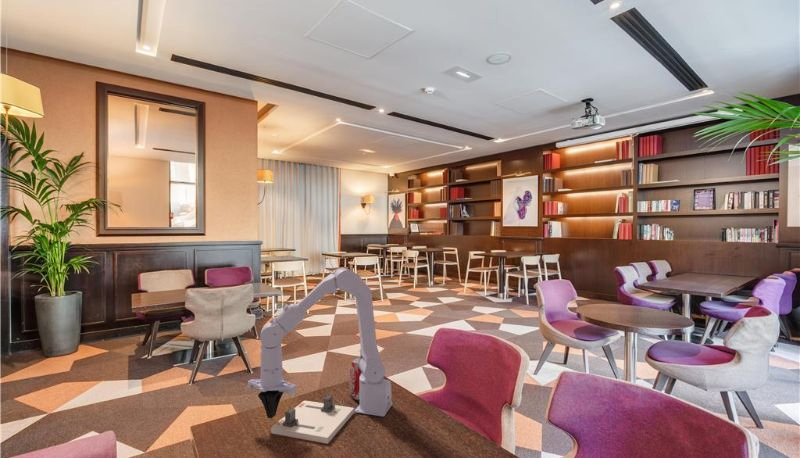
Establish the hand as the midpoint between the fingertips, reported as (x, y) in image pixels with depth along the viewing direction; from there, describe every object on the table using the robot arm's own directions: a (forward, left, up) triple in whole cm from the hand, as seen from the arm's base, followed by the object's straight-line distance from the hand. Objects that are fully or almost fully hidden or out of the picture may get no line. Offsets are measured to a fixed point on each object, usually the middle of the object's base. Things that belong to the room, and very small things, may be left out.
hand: (271, 416), depth 97 cm
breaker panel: (-11, -5, -3) cm, 12 cm away
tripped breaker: (-6, 0, -1) cm, 6 cm away
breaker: (-12, -10, -1) cm, 16 cm away
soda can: (-17, -23, -3) cm, 29 cm away
